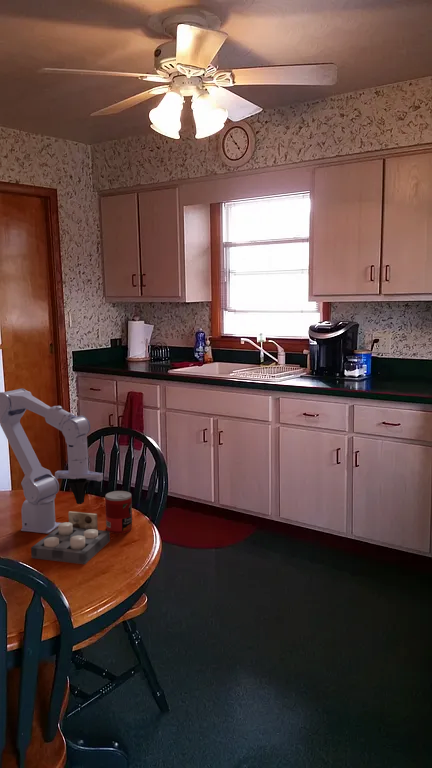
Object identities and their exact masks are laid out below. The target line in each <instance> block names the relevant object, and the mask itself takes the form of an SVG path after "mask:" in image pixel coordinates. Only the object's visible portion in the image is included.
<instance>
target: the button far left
mask: <svg viewBox="0 0 432 768" xmlns="http://www.w3.org/2000/svg"><path fill="white" fill-rule="evenodd" d="M60 523H61V524H59V525H58V527H57V528H58V530H59V535H62V536H70V535H71V534H73V524H72V523H70V522H69V521H68V522H67V521H65V522H60Z"/></svg>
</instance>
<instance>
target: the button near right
mask: <svg viewBox="0 0 432 768" xmlns="http://www.w3.org/2000/svg"><path fill="white" fill-rule="evenodd" d="M70 547H71V549H73V550H83V549H84V548H85V537H84V536H81V535H77V536H73V537H71V538H70Z"/></svg>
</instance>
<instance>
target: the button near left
mask: <svg viewBox="0 0 432 768" xmlns="http://www.w3.org/2000/svg"><path fill="white" fill-rule="evenodd" d="M58 545H59V538H57V537H49V538H46V539H45V540H44V546H46V547H56V546H58Z"/></svg>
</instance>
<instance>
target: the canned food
mask: <svg viewBox="0 0 432 768" xmlns="http://www.w3.org/2000/svg"><path fill="white" fill-rule="evenodd" d="M104 497H105V498H104V499H105V500H104V501H105V528H106V531H110V534H115V535H116V534H118V535H119V534H126V533H128V532H130V531H131V530H132V528H133V508H132V507H133V506H132V505H133V504H132V503H133V502H132V500H133V499H132V493H131V492H129V491H125V490H114V491H110V492H107V493H105V496H104Z"/></svg>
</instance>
